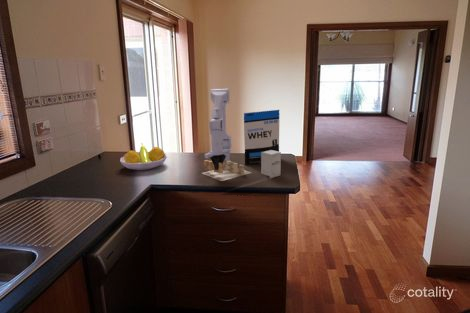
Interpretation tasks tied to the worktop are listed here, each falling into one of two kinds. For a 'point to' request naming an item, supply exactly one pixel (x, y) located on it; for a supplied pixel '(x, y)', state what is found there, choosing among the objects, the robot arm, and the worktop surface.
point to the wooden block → (210, 166)
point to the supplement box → (271, 163)
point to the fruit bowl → (144, 158)
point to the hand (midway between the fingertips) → (218, 169)
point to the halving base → (228, 171)
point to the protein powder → (260, 134)
